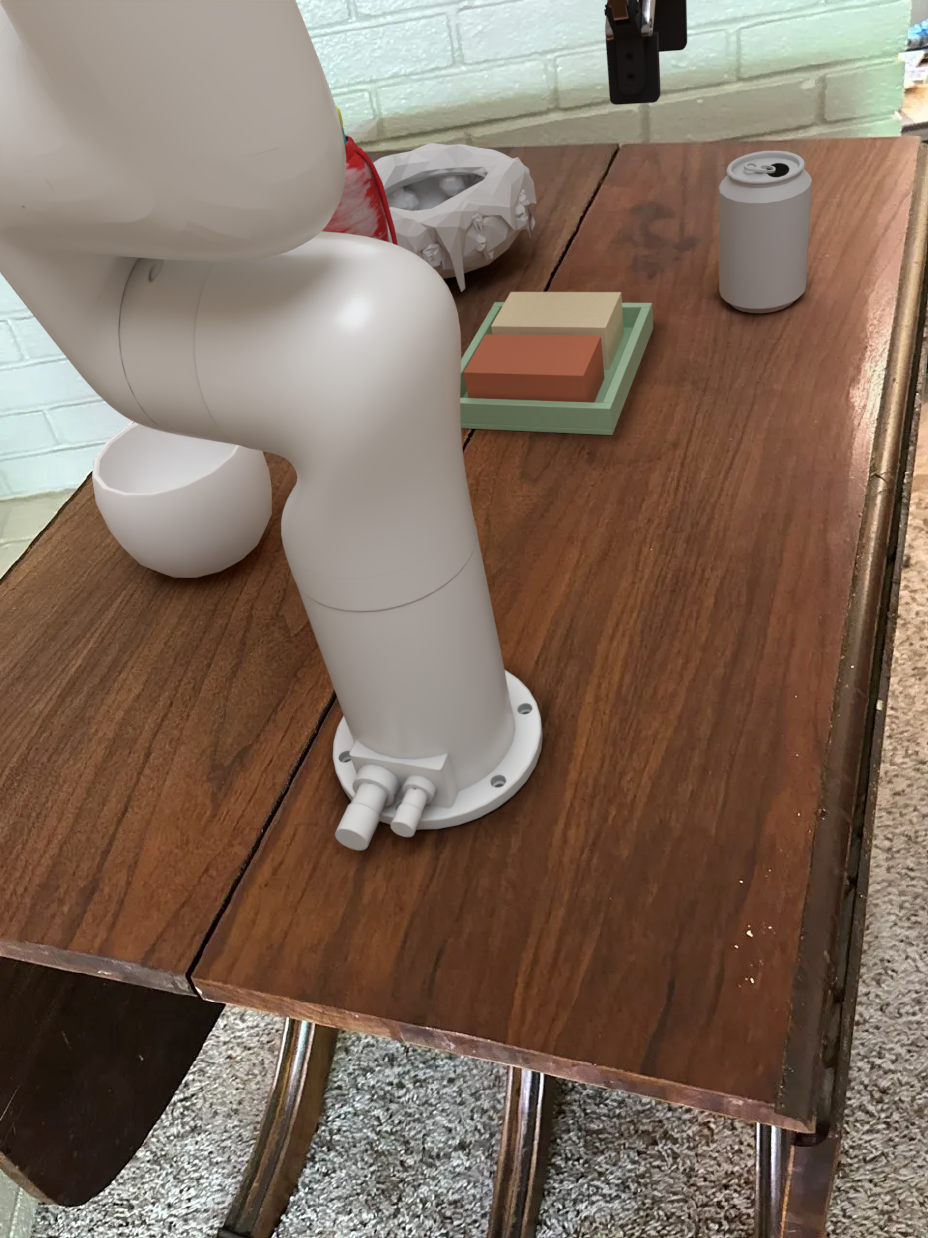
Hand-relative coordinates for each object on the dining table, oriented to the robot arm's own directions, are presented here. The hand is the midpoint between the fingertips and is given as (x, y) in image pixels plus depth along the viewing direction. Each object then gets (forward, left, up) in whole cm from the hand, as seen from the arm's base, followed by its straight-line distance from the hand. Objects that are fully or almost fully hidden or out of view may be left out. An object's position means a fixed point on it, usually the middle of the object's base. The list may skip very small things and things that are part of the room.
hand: (650, 74), depth 73 cm
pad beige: (+4, +10, -24) cm, 26 cm away
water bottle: (-5, +25, -24) cm, 35 cm away
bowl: (+21, +27, -24) cm, 42 cm away
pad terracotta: (-3, +10, -24) cm, 26 cm away
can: (+15, -6, -24) cm, 29 cm away
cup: (-25, +30, -24) cm, 46 cm away
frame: (+1, +10, -24) cm, 26 cm away
